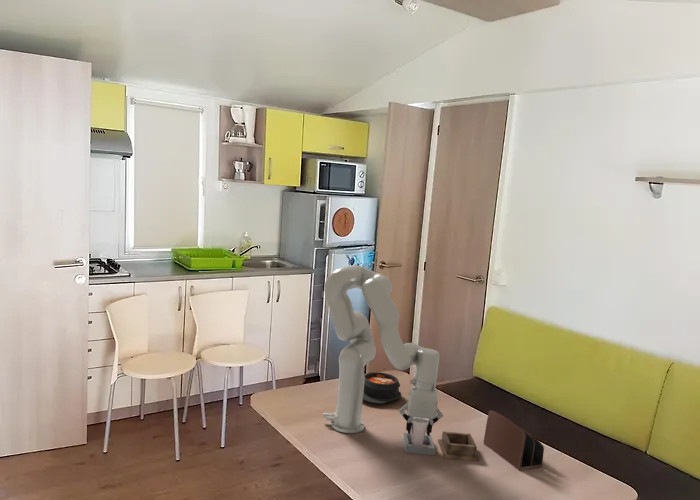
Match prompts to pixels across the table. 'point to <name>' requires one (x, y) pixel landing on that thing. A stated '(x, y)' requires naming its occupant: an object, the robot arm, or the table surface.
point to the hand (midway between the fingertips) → (418, 432)
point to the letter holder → (512, 442)
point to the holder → (419, 449)
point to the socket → (458, 446)
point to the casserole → (380, 388)
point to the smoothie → (419, 430)
